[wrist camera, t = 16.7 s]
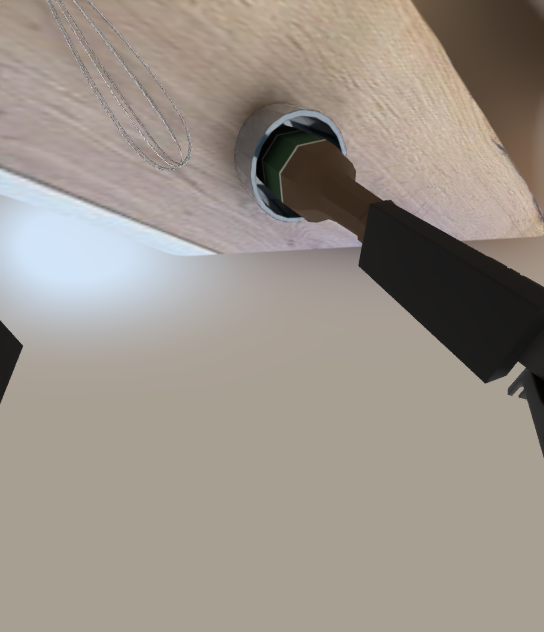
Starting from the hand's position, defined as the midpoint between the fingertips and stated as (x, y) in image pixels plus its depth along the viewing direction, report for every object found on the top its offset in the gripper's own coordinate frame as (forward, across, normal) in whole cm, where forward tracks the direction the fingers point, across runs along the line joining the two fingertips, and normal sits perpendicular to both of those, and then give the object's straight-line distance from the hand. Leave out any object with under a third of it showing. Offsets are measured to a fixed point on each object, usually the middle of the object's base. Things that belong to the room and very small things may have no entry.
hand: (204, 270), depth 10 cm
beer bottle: (+32, +14, -5) cm, 35 cm away
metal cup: (+32, +14, -5) cm, 35 cm away
